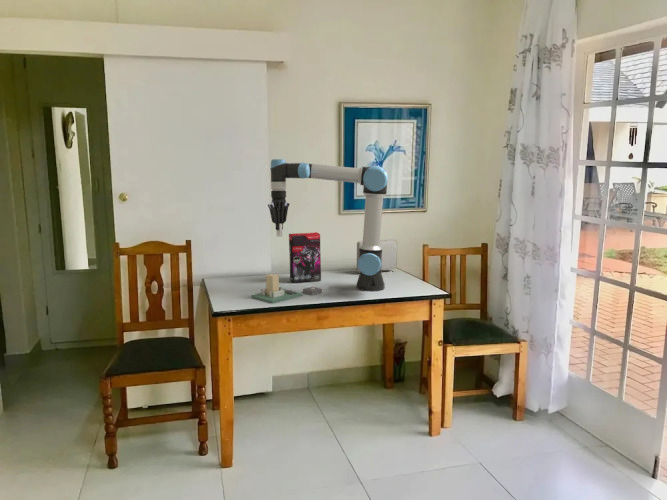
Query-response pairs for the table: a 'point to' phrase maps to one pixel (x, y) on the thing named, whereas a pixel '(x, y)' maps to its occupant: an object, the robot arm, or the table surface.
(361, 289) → the robot arm
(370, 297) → the table surface
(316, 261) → the graphics card box
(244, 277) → the table surface
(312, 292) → the fan block
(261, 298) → the board
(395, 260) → the network device
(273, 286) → the plug
